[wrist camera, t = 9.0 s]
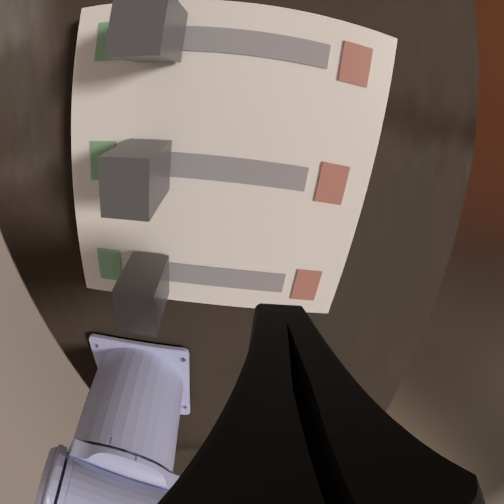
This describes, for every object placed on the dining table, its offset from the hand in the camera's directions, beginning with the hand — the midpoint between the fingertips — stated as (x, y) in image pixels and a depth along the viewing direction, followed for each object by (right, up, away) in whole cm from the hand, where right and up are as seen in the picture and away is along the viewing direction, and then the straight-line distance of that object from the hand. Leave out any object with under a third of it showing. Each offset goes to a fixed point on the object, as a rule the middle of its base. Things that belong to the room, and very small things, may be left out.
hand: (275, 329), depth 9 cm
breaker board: (-2, +7, +6) cm, 10 cm away
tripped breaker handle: (-5, +6, +4) cm, 9 cm away
